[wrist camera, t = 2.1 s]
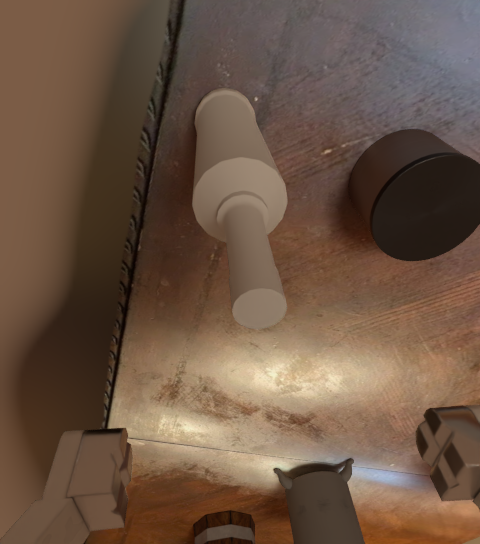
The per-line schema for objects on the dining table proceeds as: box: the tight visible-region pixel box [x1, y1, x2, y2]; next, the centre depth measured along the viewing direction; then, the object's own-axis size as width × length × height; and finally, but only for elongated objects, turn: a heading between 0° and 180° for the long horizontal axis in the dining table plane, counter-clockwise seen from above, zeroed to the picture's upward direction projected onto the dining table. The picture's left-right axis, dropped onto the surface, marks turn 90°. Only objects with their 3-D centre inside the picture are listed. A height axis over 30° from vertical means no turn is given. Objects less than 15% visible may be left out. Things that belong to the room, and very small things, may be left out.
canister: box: [349, 129, 480, 261], centre depth 37 cm, size 10×10×7 cm
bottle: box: [192, 88, 287, 329], centre depth 24 cm, size 5×5×25 cm
